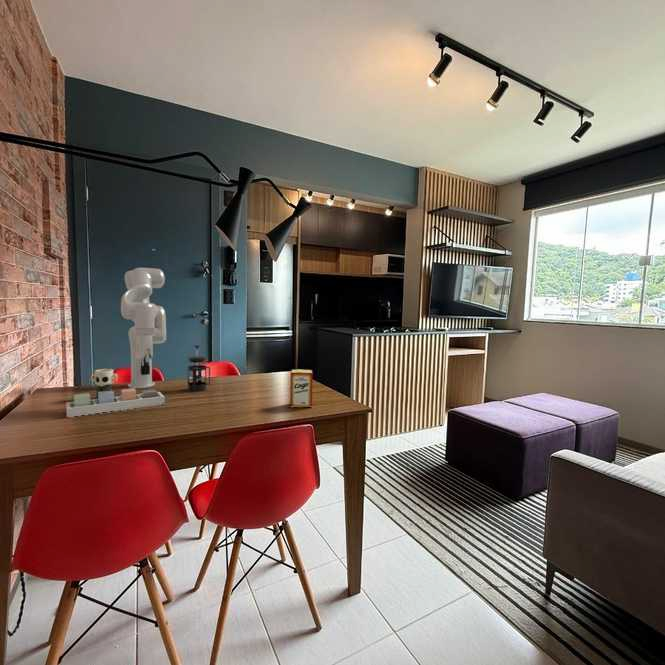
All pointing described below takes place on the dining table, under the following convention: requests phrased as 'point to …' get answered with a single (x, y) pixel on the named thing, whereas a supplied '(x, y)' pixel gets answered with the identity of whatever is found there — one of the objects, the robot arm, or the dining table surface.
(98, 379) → the character mug
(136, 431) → the dining table surface
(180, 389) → the dining table surface
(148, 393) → the key charcoal
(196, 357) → the french press
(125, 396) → the key terracotta
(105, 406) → the keypad housing
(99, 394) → the key blue
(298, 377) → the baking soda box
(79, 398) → the key sage
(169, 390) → the dining table surface
